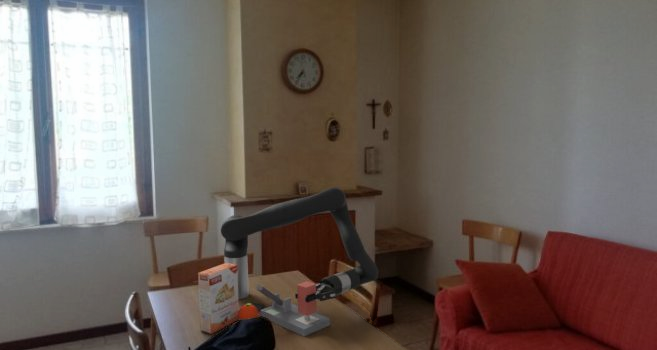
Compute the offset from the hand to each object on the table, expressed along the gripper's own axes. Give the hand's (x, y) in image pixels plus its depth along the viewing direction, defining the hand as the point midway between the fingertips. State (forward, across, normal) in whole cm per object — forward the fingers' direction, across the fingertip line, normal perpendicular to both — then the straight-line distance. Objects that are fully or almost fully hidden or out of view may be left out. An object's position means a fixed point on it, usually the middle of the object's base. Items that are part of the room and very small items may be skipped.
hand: (301, 297), depth 168 cm
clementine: (+10, -18, +11) cm, 23 cm away
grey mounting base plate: (-2, -7, +11) cm, 13 cm away
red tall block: (-3, 0, +6) cm, 7 cm away
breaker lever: (-3, -14, +7) cm, 16 cm away
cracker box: (+18, -23, +11) cm, 31 cm away
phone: (+4, -26, +12) cm, 29 cm away
